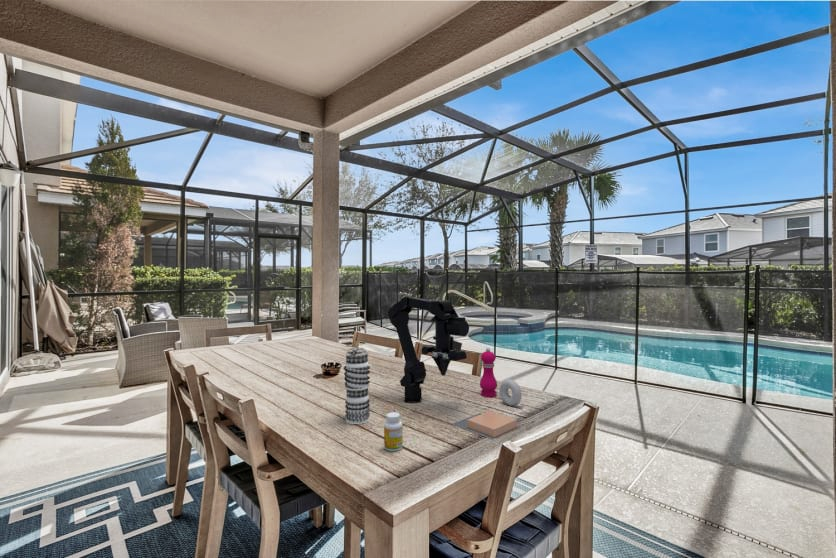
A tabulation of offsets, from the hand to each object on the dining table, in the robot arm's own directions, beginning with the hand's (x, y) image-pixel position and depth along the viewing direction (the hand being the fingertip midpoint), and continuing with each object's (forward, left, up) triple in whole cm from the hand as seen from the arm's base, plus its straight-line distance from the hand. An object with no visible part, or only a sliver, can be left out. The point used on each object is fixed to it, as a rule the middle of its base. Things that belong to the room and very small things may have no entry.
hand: (443, 375), depth 142 cm
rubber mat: (+13, -16, -13) cm, 24 cm away
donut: (+26, +4, -13) cm, 29 cm away
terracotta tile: (+11, -14, -11) cm, 21 cm away
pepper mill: (+20, +17, -13) cm, 29 cm away
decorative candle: (-31, -9, -13) cm, 35 cm away
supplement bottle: (-17, -31, -13) cm, 38 cm away
